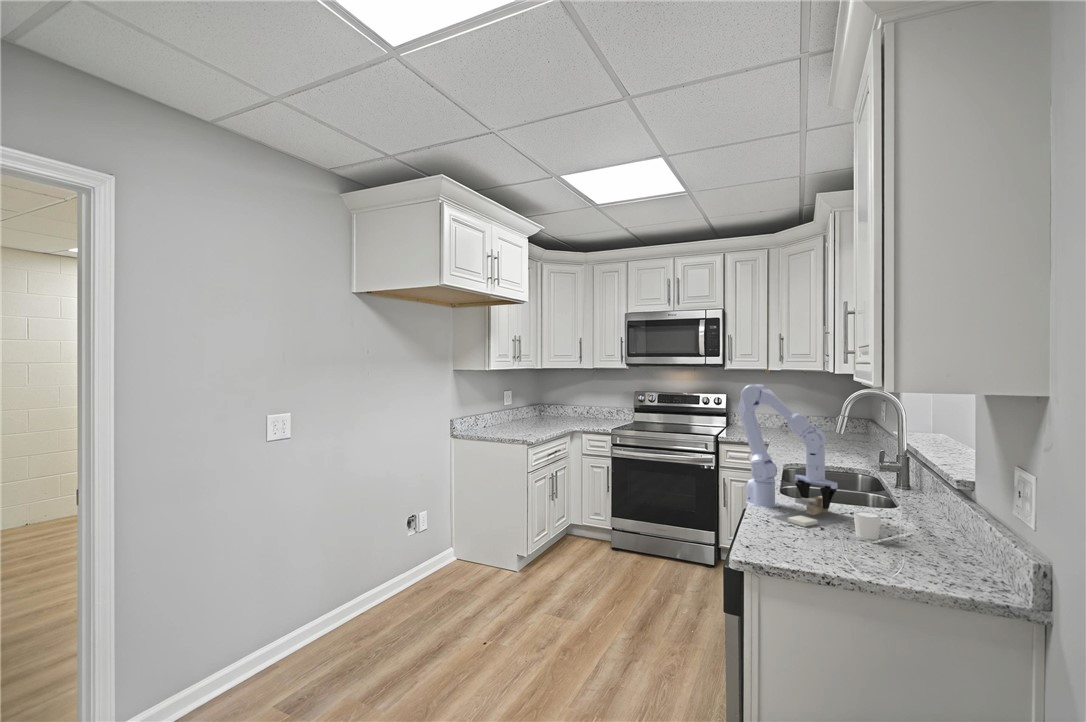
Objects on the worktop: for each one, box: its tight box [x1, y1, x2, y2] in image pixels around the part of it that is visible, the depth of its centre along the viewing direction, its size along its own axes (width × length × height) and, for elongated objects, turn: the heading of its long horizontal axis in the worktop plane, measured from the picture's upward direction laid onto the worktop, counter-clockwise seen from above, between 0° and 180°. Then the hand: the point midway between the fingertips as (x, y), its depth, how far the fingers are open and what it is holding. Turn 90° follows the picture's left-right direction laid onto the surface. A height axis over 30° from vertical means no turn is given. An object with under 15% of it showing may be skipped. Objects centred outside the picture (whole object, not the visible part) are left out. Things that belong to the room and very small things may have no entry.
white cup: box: [853, 511, 882, 542], centre depth 153 cm, size 7×7×7 cm
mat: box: [770, 509, 854, 530], centre depth 172 cm, size 14×24×1 cm, turn 117°
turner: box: [794, 495, 829, 515], centre depth 178 cm, size 12×5×5 cm, turn 117°
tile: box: [787, 515, 817, 528], centre depth 166 cm, size 6×1×6 cm
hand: (815, 505), depth 178 cm, fingers open, 7 cm apart
